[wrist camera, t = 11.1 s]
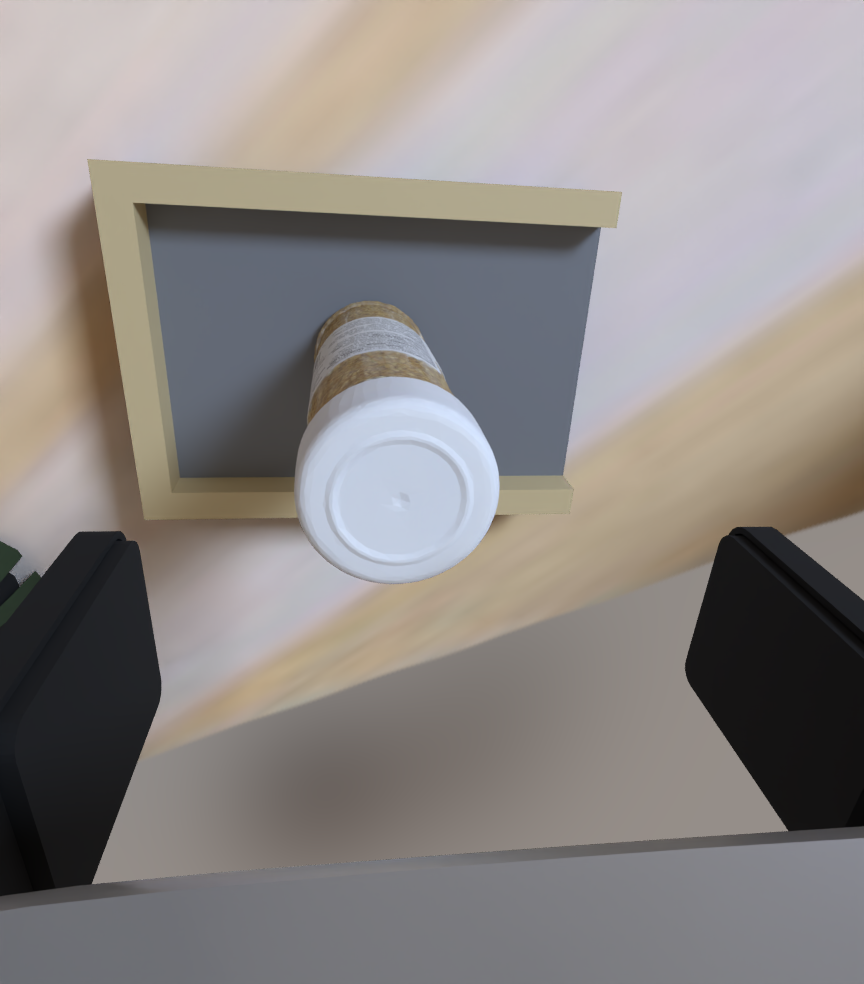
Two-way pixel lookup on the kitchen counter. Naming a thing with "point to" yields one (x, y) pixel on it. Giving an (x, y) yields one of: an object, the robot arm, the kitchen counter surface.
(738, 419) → the kitchen counter surface
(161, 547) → the kitchen counter surface
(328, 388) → the sprinkles bottle
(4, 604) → the character mug
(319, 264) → the tray
